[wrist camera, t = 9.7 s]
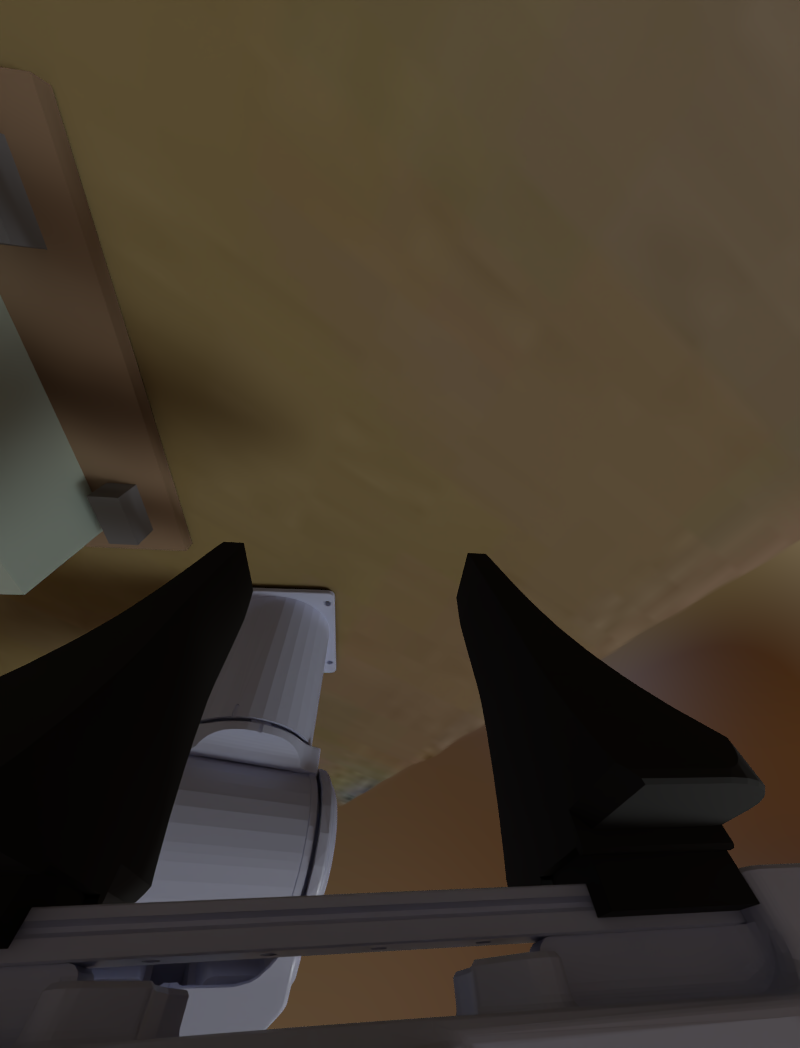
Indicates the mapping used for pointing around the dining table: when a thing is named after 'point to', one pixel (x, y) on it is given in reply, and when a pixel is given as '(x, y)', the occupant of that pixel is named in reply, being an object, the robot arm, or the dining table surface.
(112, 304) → the cradle board
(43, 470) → the block
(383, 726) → the dining table surface
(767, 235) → the dining table surface
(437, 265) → the dining table surface
